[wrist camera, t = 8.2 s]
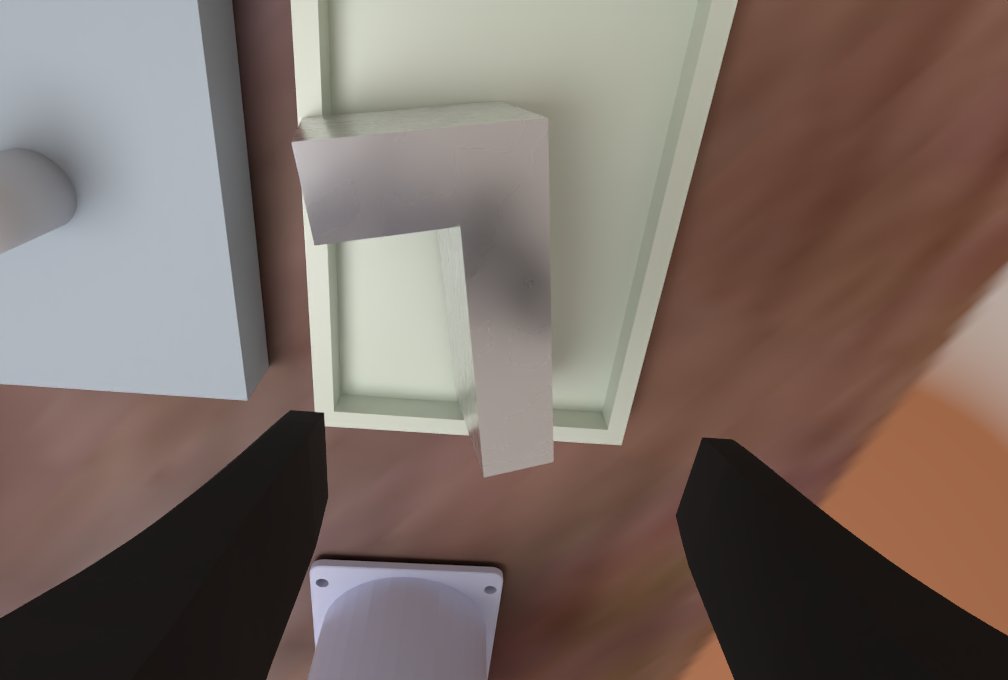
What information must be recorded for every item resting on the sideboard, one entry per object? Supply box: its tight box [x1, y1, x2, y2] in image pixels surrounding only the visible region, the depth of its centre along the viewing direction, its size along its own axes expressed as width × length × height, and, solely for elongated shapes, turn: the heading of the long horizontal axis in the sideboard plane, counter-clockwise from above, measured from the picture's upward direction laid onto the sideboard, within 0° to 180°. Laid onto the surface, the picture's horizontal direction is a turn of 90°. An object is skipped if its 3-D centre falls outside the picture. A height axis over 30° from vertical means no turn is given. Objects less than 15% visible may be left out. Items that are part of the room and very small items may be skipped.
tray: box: [291, 0, 738, 445], centre depth 16 cm, size 14×10×2 cm
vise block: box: [0, 0, 269, 400], centre depth 14 cm, size 12×8×6 cm, turn 174°
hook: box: [291, 101, 554, 477], centre depth 15 cm, size 9×5×4 cm, turn 3°
